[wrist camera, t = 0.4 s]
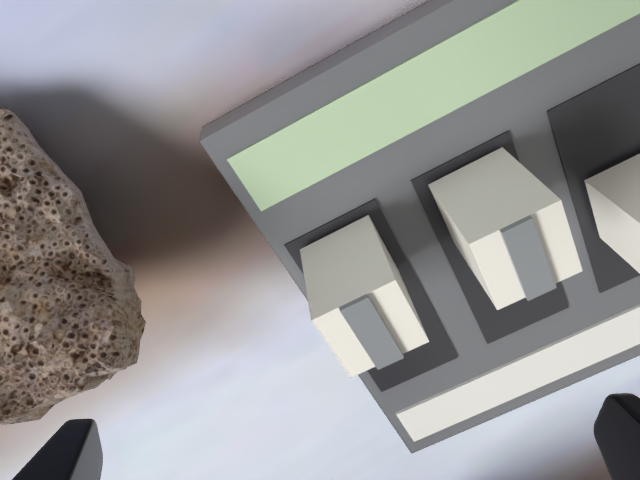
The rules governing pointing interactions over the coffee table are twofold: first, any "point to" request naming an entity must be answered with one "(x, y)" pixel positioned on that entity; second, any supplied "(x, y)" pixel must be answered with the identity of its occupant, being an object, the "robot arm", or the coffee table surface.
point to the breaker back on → (360, 298)
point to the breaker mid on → (507, 228)
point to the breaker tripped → (618, 208)
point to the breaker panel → (442, 159)
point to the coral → (55, 286)
